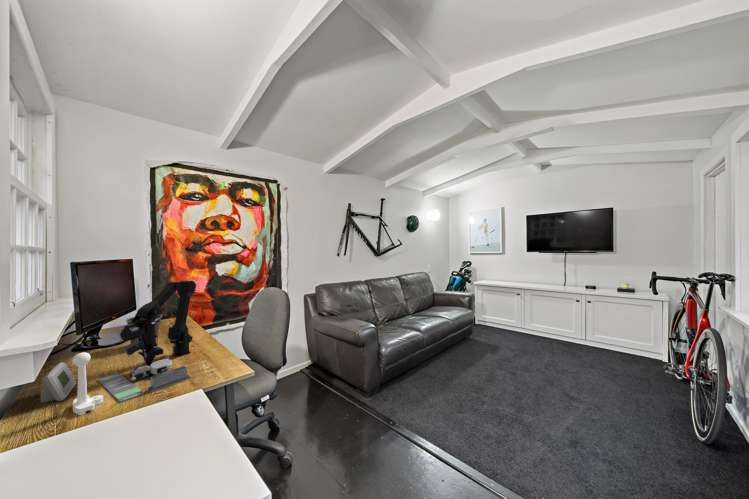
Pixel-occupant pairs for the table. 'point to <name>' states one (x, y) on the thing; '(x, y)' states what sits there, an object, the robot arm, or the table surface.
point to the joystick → (84, 387)
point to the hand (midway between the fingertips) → (148, 366)
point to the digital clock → (57, 383)
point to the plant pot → (141, 319)
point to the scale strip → (120, 387)
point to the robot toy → (151, 369)
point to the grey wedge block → (168, 378)
